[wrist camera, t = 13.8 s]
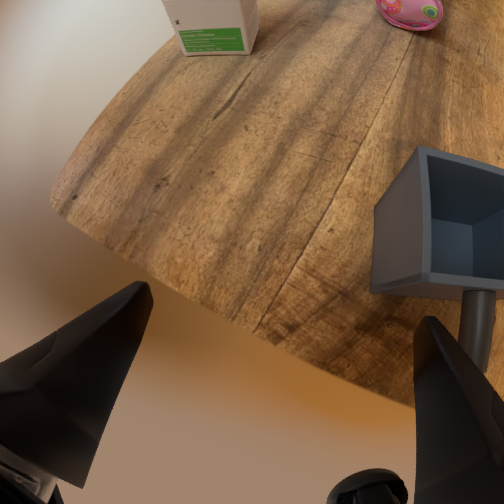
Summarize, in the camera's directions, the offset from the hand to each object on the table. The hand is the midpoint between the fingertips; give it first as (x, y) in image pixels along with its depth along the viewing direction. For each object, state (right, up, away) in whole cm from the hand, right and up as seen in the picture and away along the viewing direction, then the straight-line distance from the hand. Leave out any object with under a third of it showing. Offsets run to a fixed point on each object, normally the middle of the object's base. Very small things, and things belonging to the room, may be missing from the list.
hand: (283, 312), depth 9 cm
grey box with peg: (+13, -1, +12) cm, 18 cm away
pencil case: (+22, +39, +18) cm, 48 cm away
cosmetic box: (-4, +27, +20) cm, 34 cm away
